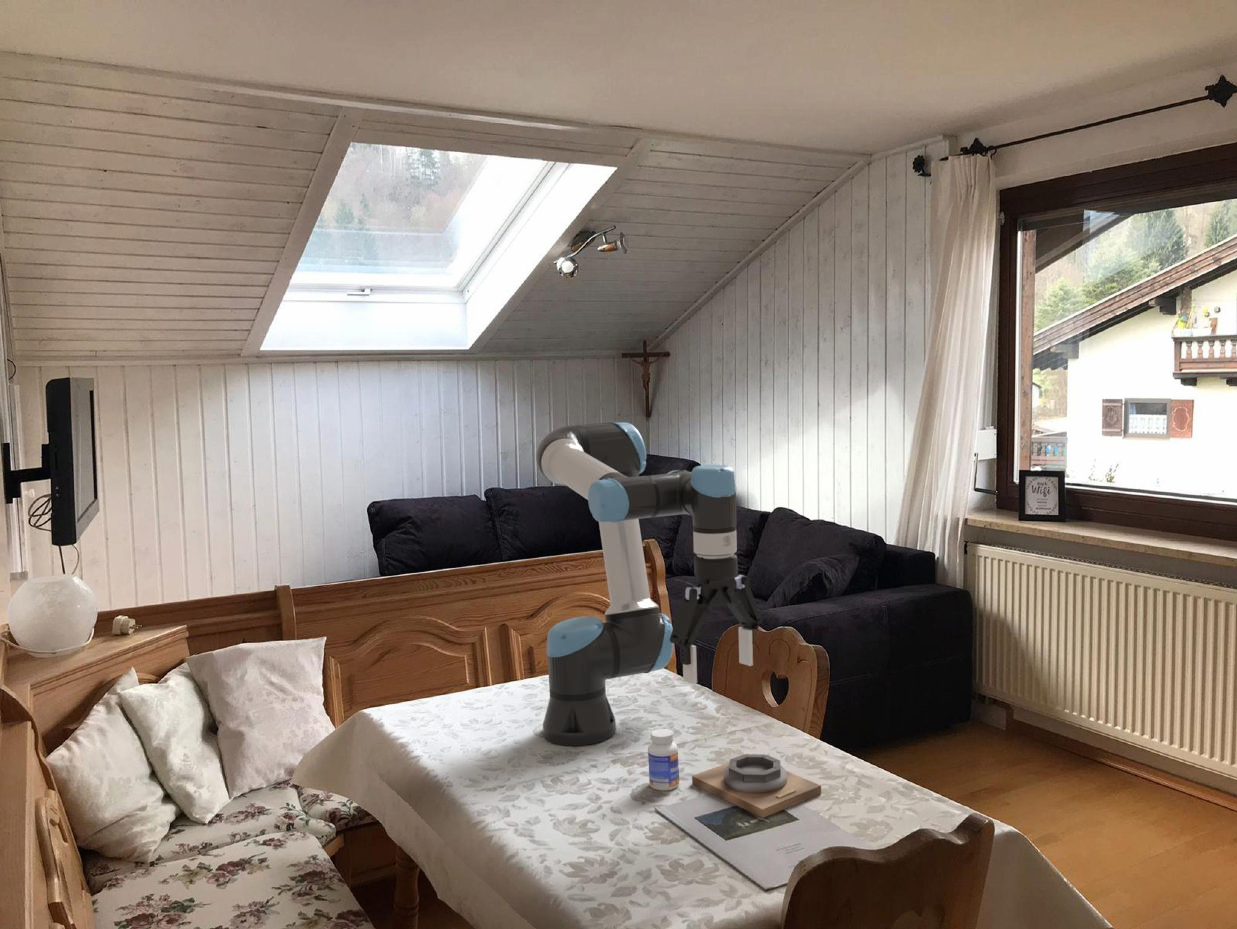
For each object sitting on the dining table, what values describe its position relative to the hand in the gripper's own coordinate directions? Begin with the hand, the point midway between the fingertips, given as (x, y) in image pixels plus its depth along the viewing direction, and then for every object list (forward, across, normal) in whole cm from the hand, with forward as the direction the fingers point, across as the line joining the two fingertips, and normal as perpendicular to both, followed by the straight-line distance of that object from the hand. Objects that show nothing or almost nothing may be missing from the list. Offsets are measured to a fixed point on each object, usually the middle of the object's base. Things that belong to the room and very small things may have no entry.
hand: (718, 672), depth 174 cm
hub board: (+21, +3, -5) cm, 21 cm away
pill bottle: (+21, -7, +7) cm, 23 cm away
